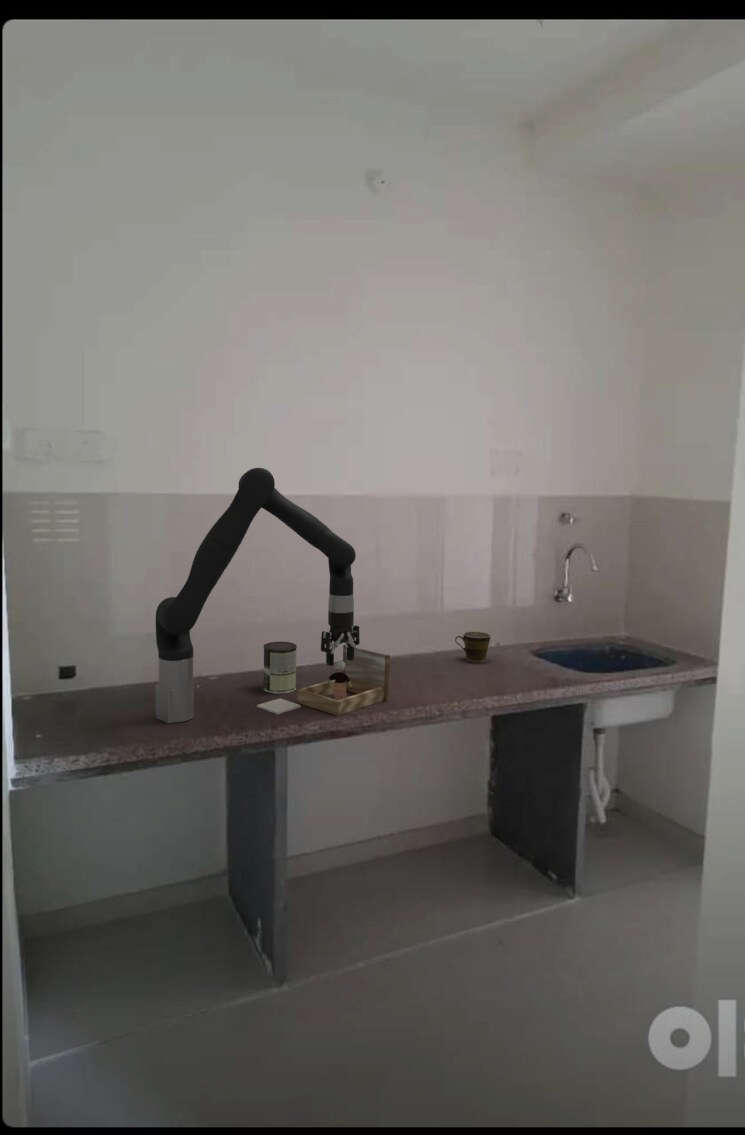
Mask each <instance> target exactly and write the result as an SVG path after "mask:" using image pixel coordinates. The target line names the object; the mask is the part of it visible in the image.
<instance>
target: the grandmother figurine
mask: <svg viewBox="0 0 745 1135" xmlns="http://www.w3.org/2000/svg"><path fill="white" fill-rule="evenodd" d="M333 668H334V669H335V670H336V672H333V673H332V674H330V675H329V676H328V679H327V680H326V681H327V683H328V684H330V683H331V681H332V680H335V683H334V693H333V699H335V700H340V699H344V698H347V690H346V683H345V680H346V682H347V683H348V686H349V687H352V685H351V681H350V679H349V677H348V676H347V675H346V674H345V673H343V671H344V669H345V662H344V661H343V660H338V661H337V662H336V663H334V665H333Z"/></svg>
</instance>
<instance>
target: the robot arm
mask: <svg viewBox="0 0 745 1135" xmlns="http://www.w3.org/2000/svg"><path fill="white" fill-rule="evenodd" d="M275 484H276V482H275V478H274V476H273V474H272V472H271V471H269V470H268V469H266V468H263V467H254V468H250V469H249V470H247V471H246V472H244V473H243V474H242V475H241V476H240V478H239V481H238V490H237V491H236V493H235V495H234V497H233V499H232V501H231V503H230V504H229V505H228V508H227V509H226V510H225V511H224V512H223V513H222V515H221V516H220V517H219V518H218V519H217V520H216V522H215V523H214V524H213V525H212V526H211V528H210V529H209V530H208V532H207V533H206V534H205V537H204V538H203V540H202V541H201V542H200V545H199V547H198V548H197V551H196V552H195V554H194V558H193V560H192V563H191V567H190V571H189V574H188V577H187V579H186V581H185V583H184V585H183V586H182V588H181V590H180V591H179V592H178V594H177V595H176V596H171V597H170V596H169V597H166V598H165V599H163V600H162V601H160V603H159V604H158V606H157V608H156V610H155V641H156V647H157V652H158V683H157V684H156V685H155V719H157V720H158V721H159V720H160V721H162V722H164V723H166V724H172V723H173V724H174V723H182V722H187V721H190V720H192V719H193V718H194V716H195V714H194V713H195V712H194V710H195V708H194V698H195V697H194V694H195V693H194V647H193V643H192V640H191V632H190V631H191V630H192V629H193V628H194V626H195V625H196V623H197V621H198V619H199V617H200V615H201V612H202V611H203V609H204V606H205V604H206V601H208V598H209V596H210V594H211V593H212V591H213V590H214V588H215V586H216V585H217V583H218V581H219V580H220V579H221V577H222V575H223V574H224V572H225V570H226V569H227V567H228V566H229V565H230V563H231V561H232V559H233V558H234V556H235V554H236V552H237V551H238V550H239V547H240V545H241V544H242V543H243V539H244V538H245V537H246V534H247V532H248V530H249V527H250V526H251V524H252V522H253V520H254V519H255V517H256V516H257V514H258V513H259V511H260V510H261V509H264V510H265V512H266V511H267V512H268V513H269V514H271V515H273V516H274V517H275V518H277V519H278V520H280V521H281V522H282V523H283V524H285V525H286V526H287V527H288V528H289V529H290V530H292V531H293V532H295V534H297V535H298V536H299V537H301V538H302V539H303V540H304V541H306V542H307V543H308V544H310V545H311V546H312V547H313V548H316V549H317V550H318V551H320V552H321V553H322V554H323V555H324V556H326V558H328V559H327V560H328V570H329V588H328V589H329V594H328V595H329V596H328V604H327V605H328V606H327V607H328V608H327V609H328V611H327V612H328V614H327V615H328V616H327V624H328V626H329V628H330V629H329V631H325V630H322V632H321V635H320V636H321V637H320V639H321V641H320V652H322V653H325V657H326V658H325V663H326V665H327V666H330V667H334V666H335V653H334V652H335V651H336V648H339V646H340V645H343V643H344V644H346V645H347V646H348V648H347V660H350V661H352V660H353V658H354V648H355V647H357V646H360V645H361V644H360V642H361V641H360V626H359V625H356V624H354V622H355V621H354V619H355V598H354V578H353V575H352V565H353V563H354V562H355V560H356V556H357V555H356V551H355V549H354V547H353V546H352V545H351V544H350V543H348V542H347V541H346V540H345V539H343V538H342V537H340V536H339V535H337V534H336V533H334V532H333V531H332V530H331V529H330V528H329V527H328V526H327V525H326V524H324V523H323V522H322V521H321V520H320V519H318V517H316V516H314V515H313V514H312V513H311V512H309V511H307V509H304V508H302V507H300V506H299V505H297V504H296V503H293V502H292V501H291V500H289V499H288V498H287V497H285V496H284V495H283V494H282V493H281V492H280V491H278V490H277V488H276V487H275Z"/></svg>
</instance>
